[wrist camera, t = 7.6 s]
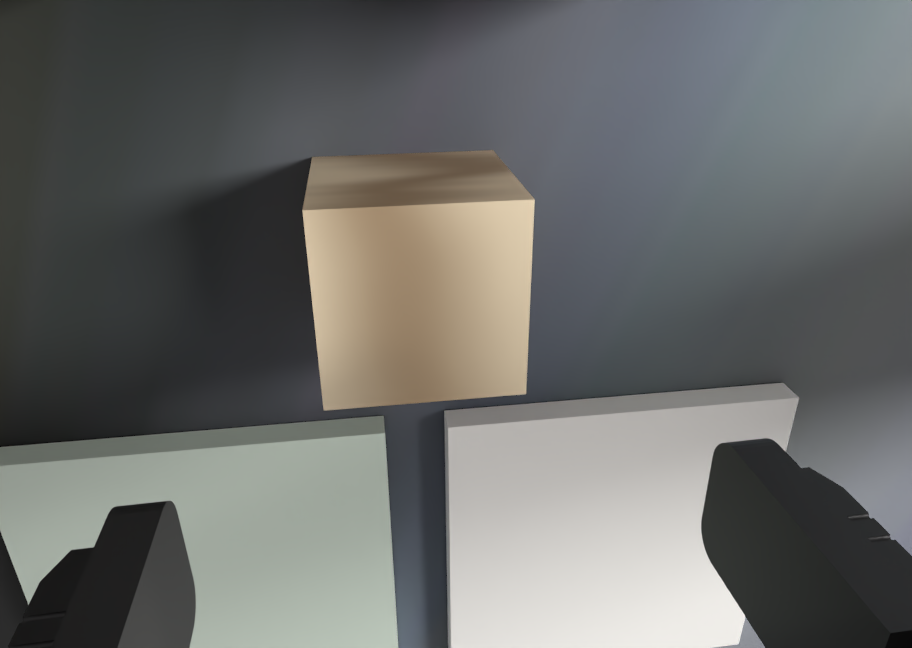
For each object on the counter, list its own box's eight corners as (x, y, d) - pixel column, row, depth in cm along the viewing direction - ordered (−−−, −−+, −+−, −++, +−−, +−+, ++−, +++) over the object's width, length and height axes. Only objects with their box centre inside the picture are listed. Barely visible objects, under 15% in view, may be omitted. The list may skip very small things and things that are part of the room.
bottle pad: (383, 415, 23) (385, 433, 22) (399, 665, 28) (400, 687, 28) (-9, 447, 22) (-24, 467, 21) (84, 705, 27) (75, 729, 26)
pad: (783, 382, 25) (799, 397, 24) (727, 624, 30) (738, 644, 29) (444, 410, 23) (447, 428, 22) (448, 659, 29) (451, 681, 28)
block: (492, 149, 20) (534, 199, 15) (489, 309, 22) (526, 394, 18) (312, 156, 19) (302, 210, 15) (327, 320, 22) (323, 410, 17)
